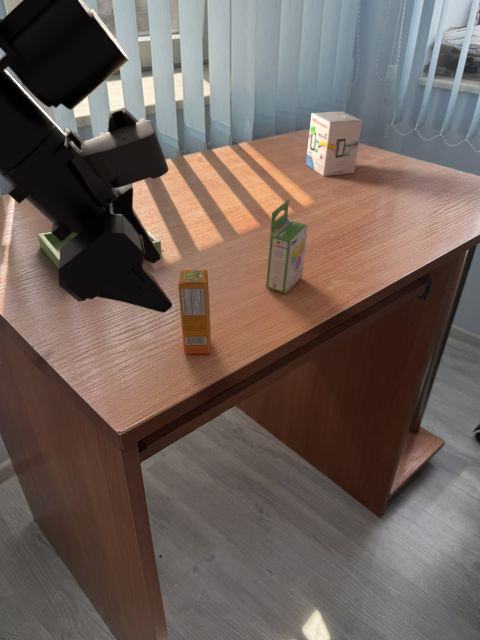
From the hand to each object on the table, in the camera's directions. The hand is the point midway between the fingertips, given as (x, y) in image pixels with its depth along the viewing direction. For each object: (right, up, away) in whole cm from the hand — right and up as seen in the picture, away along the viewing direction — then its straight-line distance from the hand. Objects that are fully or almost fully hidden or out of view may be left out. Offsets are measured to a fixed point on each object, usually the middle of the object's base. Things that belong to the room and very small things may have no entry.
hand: (162, 282), depth 49 cm
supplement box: (+1, -6, +14) cm, 16 cm away
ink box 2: (+25, +36, +72) cm, 84 cm away
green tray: (-16, +9, +33) cm, 38 cm away
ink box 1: (+13, +3, +28) cm, 31 cm away
